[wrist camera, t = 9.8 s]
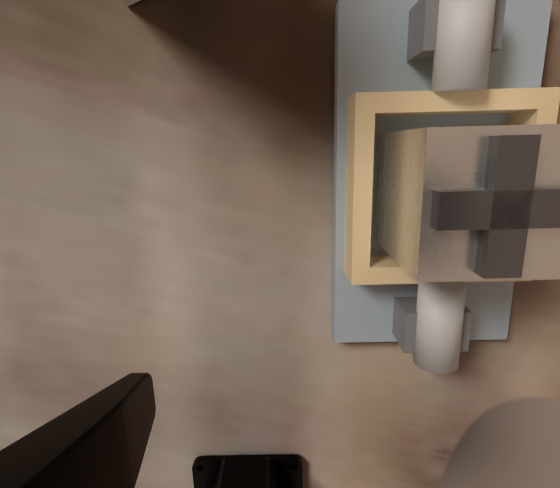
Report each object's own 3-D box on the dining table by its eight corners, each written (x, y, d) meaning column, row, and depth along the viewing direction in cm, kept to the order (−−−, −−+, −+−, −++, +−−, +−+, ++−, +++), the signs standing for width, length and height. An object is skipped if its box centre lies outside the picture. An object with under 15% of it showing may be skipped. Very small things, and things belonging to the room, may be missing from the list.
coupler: (489, 131, 17) (609, 122, 11) (477, 237, 19) (579, 285, 12) (378, 133, 17) (434, 126, 11) (374, 240, 19) (423, 288, 12)
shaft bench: (496, 330, 21) (545, 372, 17) (332, 333, 21) (343, 376, 17) (537, 2, 17) (613, -41, 13) (335, 7, 17) (351, -33, 13)
